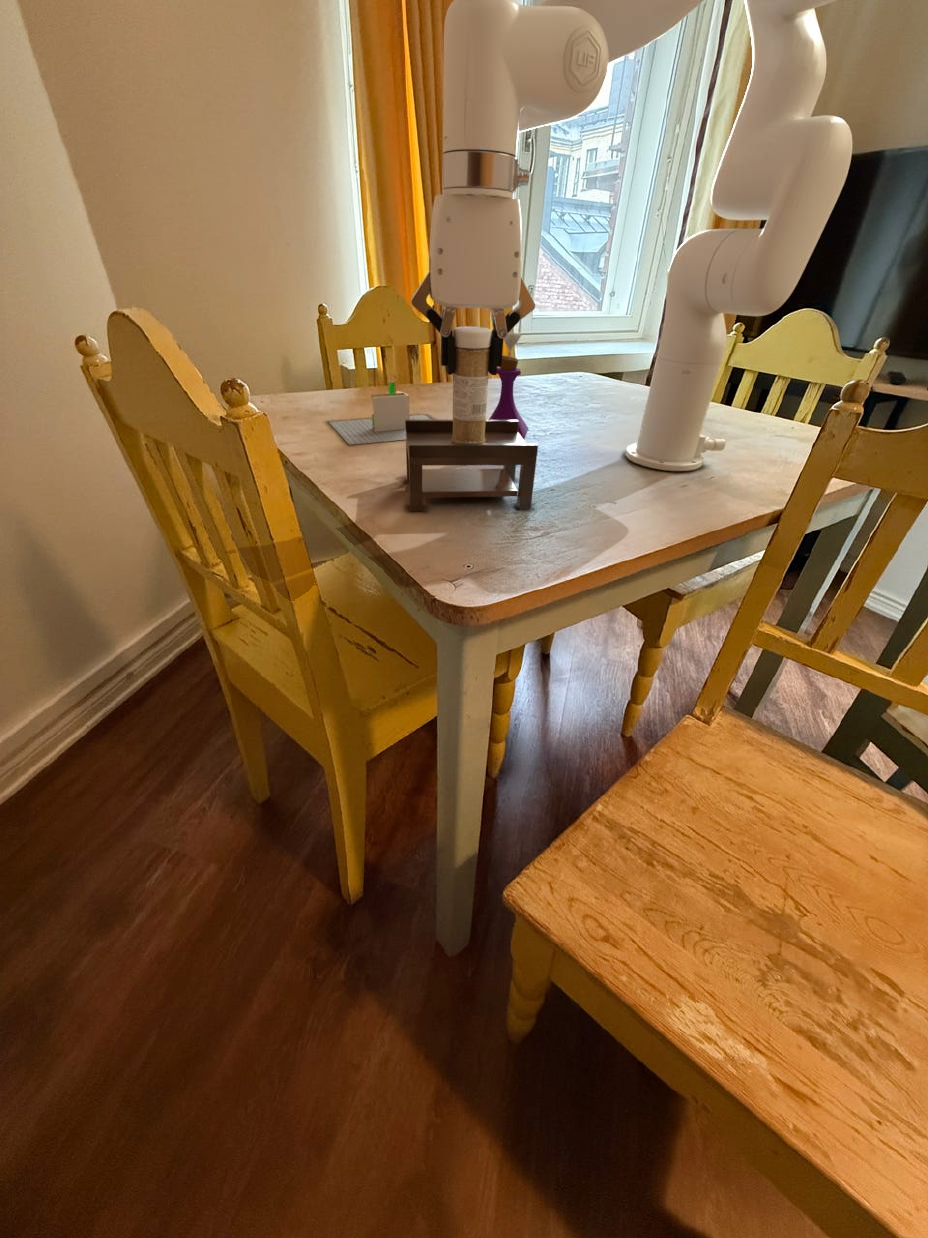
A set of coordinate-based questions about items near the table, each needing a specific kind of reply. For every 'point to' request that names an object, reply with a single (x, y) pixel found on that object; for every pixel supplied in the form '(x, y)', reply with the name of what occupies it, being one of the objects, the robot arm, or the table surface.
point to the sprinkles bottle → (470, 384)
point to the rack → (468, 462)
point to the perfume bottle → (509, 387)
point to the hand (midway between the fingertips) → (470, 371)
